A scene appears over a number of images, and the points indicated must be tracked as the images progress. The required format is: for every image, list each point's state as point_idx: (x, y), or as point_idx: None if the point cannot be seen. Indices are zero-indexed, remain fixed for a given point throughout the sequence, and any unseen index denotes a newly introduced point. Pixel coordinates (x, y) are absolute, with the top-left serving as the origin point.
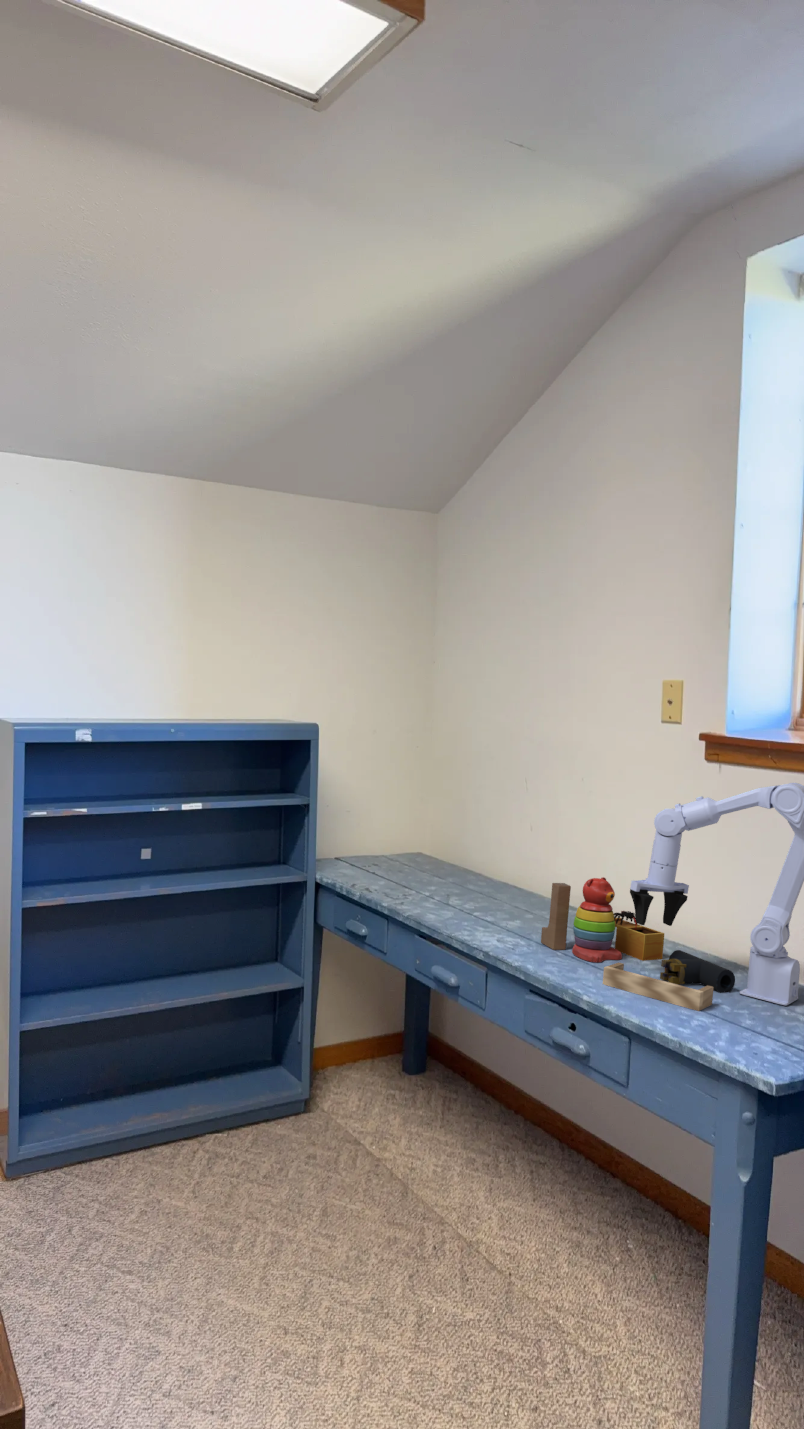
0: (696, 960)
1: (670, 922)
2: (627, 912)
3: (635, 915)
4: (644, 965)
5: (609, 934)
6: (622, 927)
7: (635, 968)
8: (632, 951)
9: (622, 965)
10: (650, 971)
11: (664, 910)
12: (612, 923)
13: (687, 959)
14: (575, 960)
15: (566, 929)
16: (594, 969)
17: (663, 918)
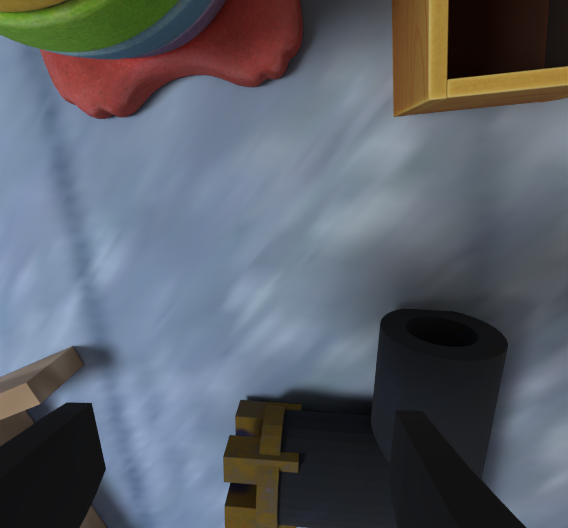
0: (387, 526)
1: (396, 515)
2: None
3: (9, 442)
4: (336, 196)
5: (118, 51)
6: None
7: (251, 233)
8: (397, 15)
9: (33, 404)
10: (293, 286)
11: (444, 508)
12: (104, 4)
13: (346, 508)
14: (14, 54)
15: None
16: (41, 212)
17: (404, 441)
